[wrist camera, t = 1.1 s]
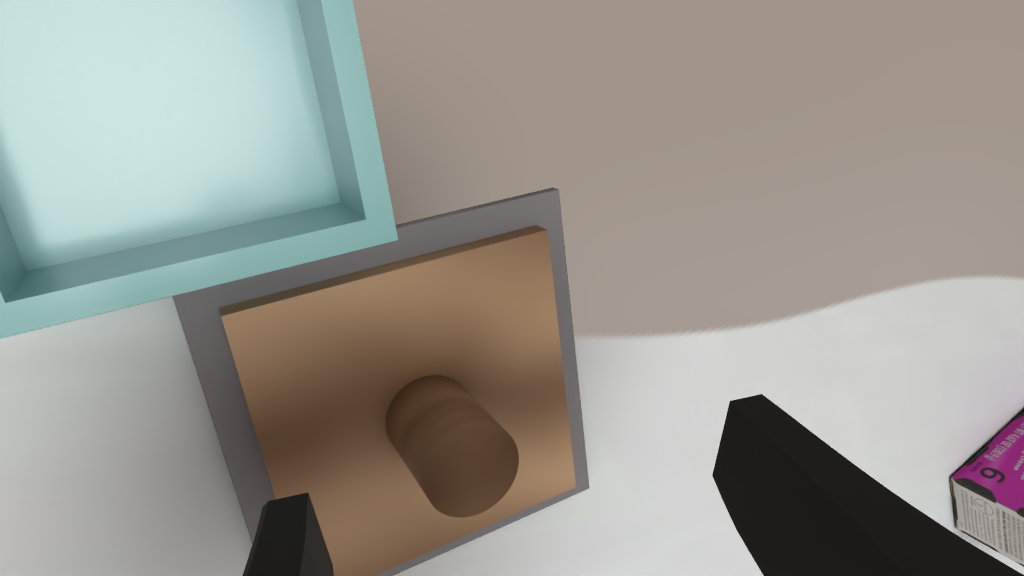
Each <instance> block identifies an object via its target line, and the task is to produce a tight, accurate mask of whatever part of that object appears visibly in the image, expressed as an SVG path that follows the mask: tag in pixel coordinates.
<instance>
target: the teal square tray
mask: <svg viewBox="0 0 1024 576" xmlns="http://www.w3.org/2000/svg"><path fill="white" fill-rule="evenodd" d="M396 240H398V236H397V231H396V225H395V221H394V215H393V210H392V205H391V199H390V194H389V189H388V184H387V179H386V173H385V168H384V163H383V158H382V152H381V147H380V142H379V137H378V132H377V127H376V121H375V116H374V111H373V106H372V100H371V96H370V90H369V85H368V80H367V74H366V69H365V64H364V59H363V54H362V48H361V43H360V38H359V32H358V27H357V22H356V17H355V12H354V6H353V1H352V0H0V339H1V338H5V337H9V336H13V335H17V334H21V333H25V332H29V331H33V330H37V329H41V328H45V327H49V326H53V325H58V324H62V323H66V322H70V321H74V320H78V319H82V318H86V317H90V316H94V315H98V314H102V313H106V312H110V311H114V310H118V309H122V308H126V307H130V306H134V305H138V304H142V303H146V302H150V301H154V300H158V299H162V298H166V297H170V296H174V295H178V294H182V293H187V292H191V291H195V290H199V289H203V288H207V287H211V286H215V285H219V284H223V283H227V282H231V281H235V280H239V279H243V278H247V277H251V276H255V275H259V274H263V273H267V272H271V271H275V270H279V269H283V268H287V267H291V266H295V265H299V264H303V263H307V262H311V261H316V260H320V259H324V258H328V257H332V256H336V255H340V254H344V253H348V252H352V251H356V250H360V249H364V248H368V247H372V246H376V245H380V244H384V243H388V242H392V241H396Z"/></svg>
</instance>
